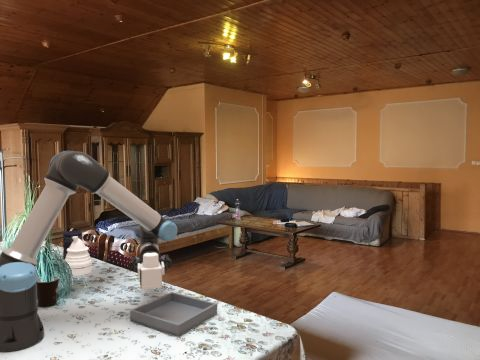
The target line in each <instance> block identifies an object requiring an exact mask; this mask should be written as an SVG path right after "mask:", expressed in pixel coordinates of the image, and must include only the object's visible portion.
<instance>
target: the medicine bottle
mask: <svg viewBox="0 0 480 360" xmlns="http://www.w3.org/2000/svg"><path fill="white" fill-rule="evenodd" d="M159 253H160V252H159ZM159 253H158V252H156V251H146V252H144V253H142V264H140V276H139V285H140V290H141V291H143V290H153V289H162V288H163V275H162V267H161V265H160V263H159Z"/></svg>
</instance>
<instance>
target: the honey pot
mask: <svg viewBox="0 0 480 360" xmlns="http://www.w3.org/2000/svg"><path fill="white" fill-rule="evenodd" d="M72 238H73V240H74V241H73V242H72V244H71V246H70V248H68V249H67V251H68V253H67V255H66V258H65V261H66V262H67V263H68V264H69V266H70V268H71V270H72V274H73V275H74V276H73V277H80V275H81V276H85V274H86V275H88V273H89V274H91V273H92V272H93V259H91V256H90V253H89V250H90V247H88V246H86V245H85V242H84V241H83V239H82V240H81V239H78V236H73V237H72ZM91 271H92V272H91ZM90 272H91V273H90ZM78 275H79V276H78Z"/></svg>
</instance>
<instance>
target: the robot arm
mask: <svg viewBox="0 0 480 360" xmlns="http://www.w3.org/2000/svg"><path fill="white" fill-rule="evenodd" d="M43 178H44V182H45V185H44V188H43V190H42V191H41V193H40V194H39V196H38V198H37V200H36V201H35V204H34V205H33V207H32V209H31V210H30V212H29V214H28V216H27V218H26V219H25V221H24V223H23V224H22V226H21V228H20V230H19V231H18V232H17V235H16V237H15V238H14V240H13V242H12V244H11V245H10V246H9V247H8V248H5V249H3V250H2V251H1V253H0V352H2V353H4V352H14V351H20V350H25V349H27V348H29V347H33V346H34V345H36V344H38V343H39V342H41V341H42V340H43V339H44V337H45V327H44V325H43V322H42V320H41V318H40V316H39V313H38V300H37V278H38V272H37V267H36V266H37V265H38V262H37V258H36V256H37V255H38V253H39V251H40V249H41V247H42V245H43V244H44V242H45V240H46V239H47V237H48V235H49V233H50V231H51V229H52V228H53V225H55V222H56V220H57V219H58V217H59V215H60V213H61V211H62V209H63V208H64V205H66V204H65V203H66V202H67V200H68V199H69V196H71V195H74V194H76V193H77V191H78V190H79V188H81V189H84V190H86V191H87V192H88V193H90V194H91V195H94V194H96V195H98V196H99V197H101V198H102V199H103V200H105V201H106V202H108V203H109V204H110V205H112V206H113V207H115V208H116V209H117V210H118V211H120V212H121V213H123V214H124V215H126V216H127V217H128V218H130V219H131V220H133V222H136V223H137V224H139V256H138V257H137V256H135V255H132V256H131V259H130V261H129V265H128V266H129V271H133V270H134V273H137V277H140V264H142V253H144V252H146V251H156V252H158V253H159V263H160V265H161V267H162V276H163V275H165V271H167V270H168V268H169V269H170V268H172V259H171V258H170V257H169V254H167V253H166V254H163V255H161V253H160V248H159V247H160V246H159V240H161V241H164V242H165V241H166V242H170V241H172V240H174V239H175V238H176V237H177V236H178V235H177V234H178V231H179V230H178V226H177V225H176V224H175V222H172V221H171V220H168V219H167V218H165V217H163V216H162V215H161V214H160V213H159V212H158V211H157V210H154V209H153V208H152V207H150V205H148V204H147V203H146V202H145V201H143V200H141V199H140V198H139V197H137V196H136V195H135V194H134V193H132V192H131V190H129V189H127V187H125V186H124V185H122V184H121V183H120V182H118V181H117V180H116V179H114V177H112V176H111V172H110V171H109V170H107V168H105V167H104V166H102V165H101V164H100V163H99V162H98V161H97V160H95V159H94V158H93V157H92V156H91V155H89V154H88V153H85V152H83V151H74V150H64V151H61V152H58V153H56V155H54V156H53V157H52V158H51V160H50V162H49V167H48V171H47V173H46V175H45V176H44V177H43Z"/></svg>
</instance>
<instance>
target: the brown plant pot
mask: <svg viewBox="0 0 480 360" xmlns="http://www.w3.org/2000/svg"><path fill="white" fill-rule="evenodd" d="M54 276H55V280H54V281H50V282H40V277H41V276H38V277H37V307H40V308H49V307H53V306H56V304H57V301H58V291H59V284H60V276H58V275H54Z"/></svg>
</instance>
